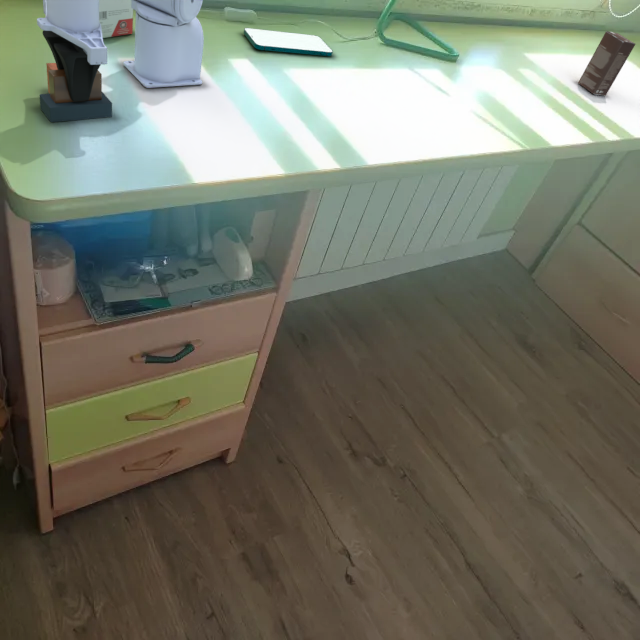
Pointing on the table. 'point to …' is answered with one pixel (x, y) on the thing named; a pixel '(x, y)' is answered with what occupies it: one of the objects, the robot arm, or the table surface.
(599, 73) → the box
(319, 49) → the smartphone
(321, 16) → the table surface
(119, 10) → the ink box
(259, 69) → the table surface
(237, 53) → the table surface
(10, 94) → the table surface
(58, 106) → the stepped two-tone block
